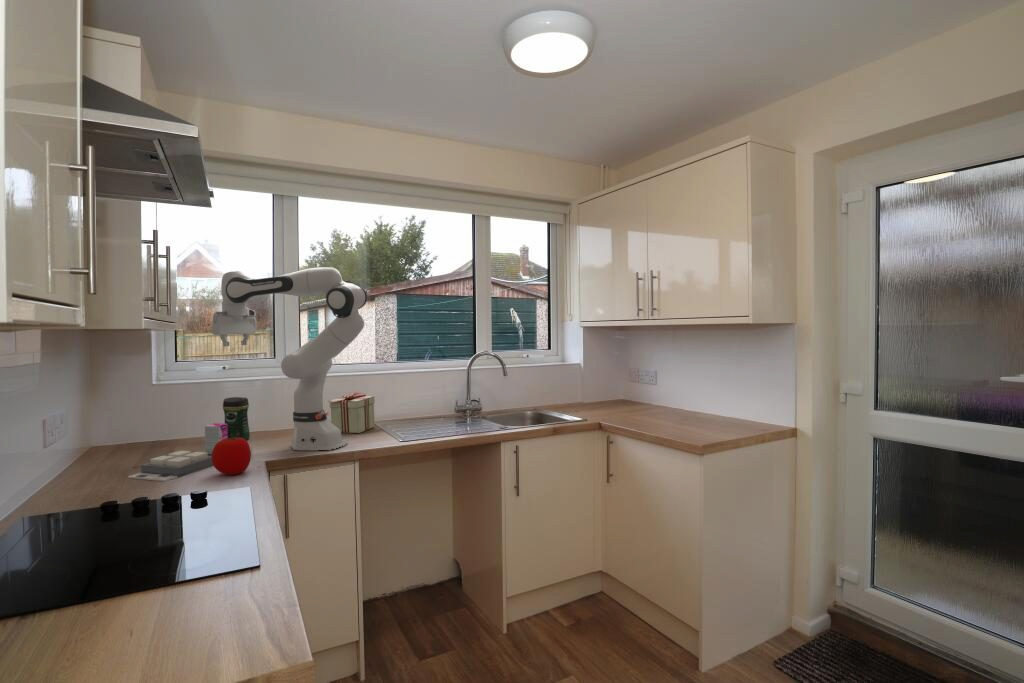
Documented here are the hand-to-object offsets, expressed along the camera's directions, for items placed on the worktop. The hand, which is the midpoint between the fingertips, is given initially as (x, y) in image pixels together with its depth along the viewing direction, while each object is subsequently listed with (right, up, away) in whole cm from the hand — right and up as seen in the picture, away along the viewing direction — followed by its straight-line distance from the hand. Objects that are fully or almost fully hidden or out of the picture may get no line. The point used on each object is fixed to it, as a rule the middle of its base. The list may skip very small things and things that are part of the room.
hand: (235, 345), depth 213 cm
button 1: (-7, -41, -34) cm, 54 cm away
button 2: (0, -41, -36) cm, 54 cm away
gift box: (+37, -40, +31) cm, 63 cm away
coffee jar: (-5, -41, +11) cm, 43 cm away
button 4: (+2, -40, -30) cm, 50 cm away
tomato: (+19, -43, -38) cm, 60 cm away
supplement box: (-1, -42, -12) cm, 44 cm away
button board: (-3, -43, -34) cm, 55 cm away
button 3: (-5, -40, -28) cm, 49 cm away
